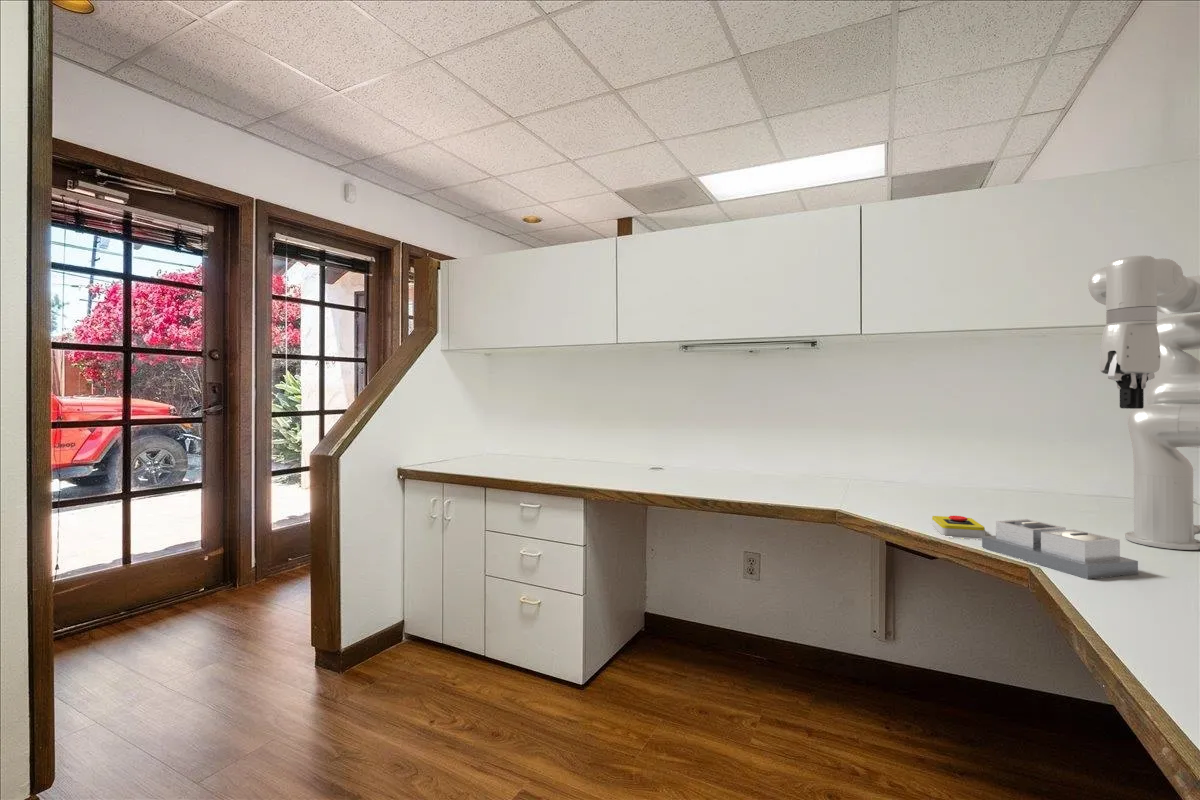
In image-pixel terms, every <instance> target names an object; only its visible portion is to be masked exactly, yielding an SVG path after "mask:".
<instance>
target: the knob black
mask: <svg viewBox="0 0 1200 800" xmlns="http://www.w3.org/2000/svg"><path fill="white" fill-rule="evenodd" d="M1038 522H1039V521H1037V522H1032V521H1015V525H1018V526H1023V527H1027V528H1031V529H1036V528H1045V524H1042V523H1043V522H1042V523H1038Z"/></svg>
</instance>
